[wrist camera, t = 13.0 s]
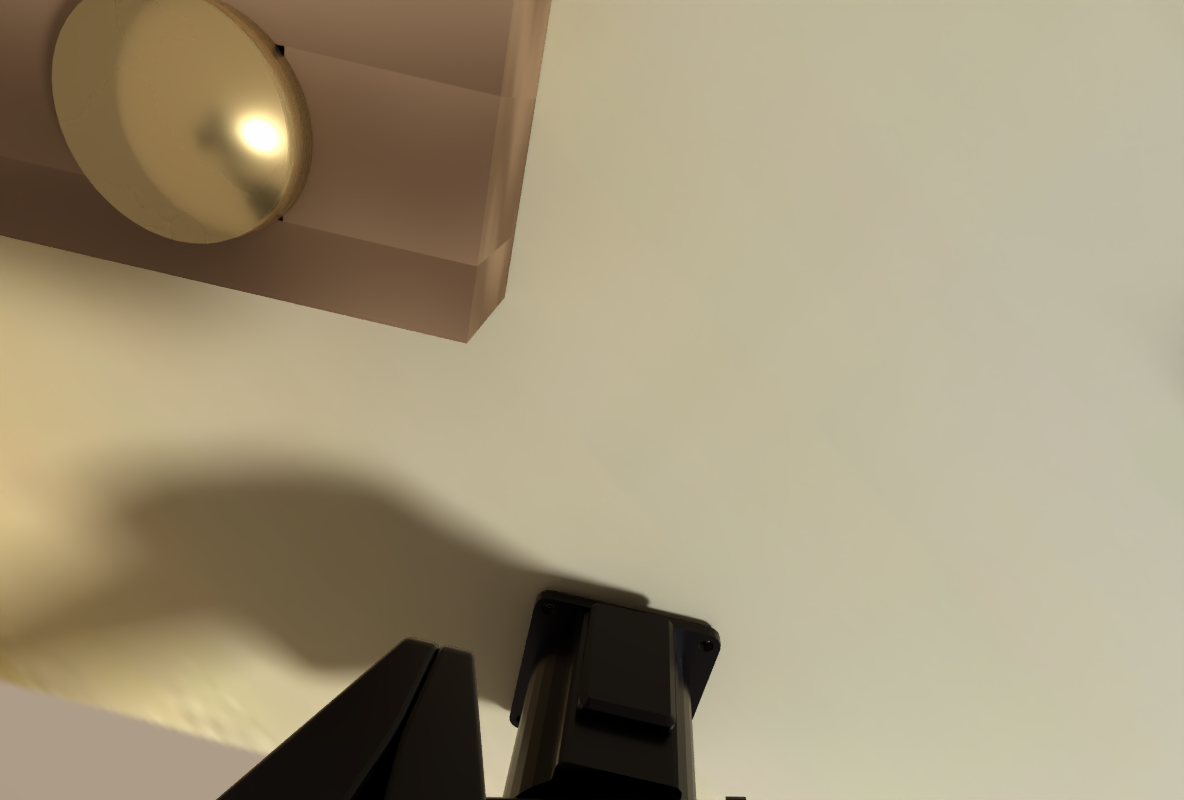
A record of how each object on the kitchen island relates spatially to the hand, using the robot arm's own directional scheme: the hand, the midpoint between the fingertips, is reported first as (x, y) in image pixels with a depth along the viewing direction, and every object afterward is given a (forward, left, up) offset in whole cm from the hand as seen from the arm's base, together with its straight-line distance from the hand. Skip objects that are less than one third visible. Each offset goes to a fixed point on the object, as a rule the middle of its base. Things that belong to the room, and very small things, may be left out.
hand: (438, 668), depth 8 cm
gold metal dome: (+4, +8, -12) cm, 15 cm away
